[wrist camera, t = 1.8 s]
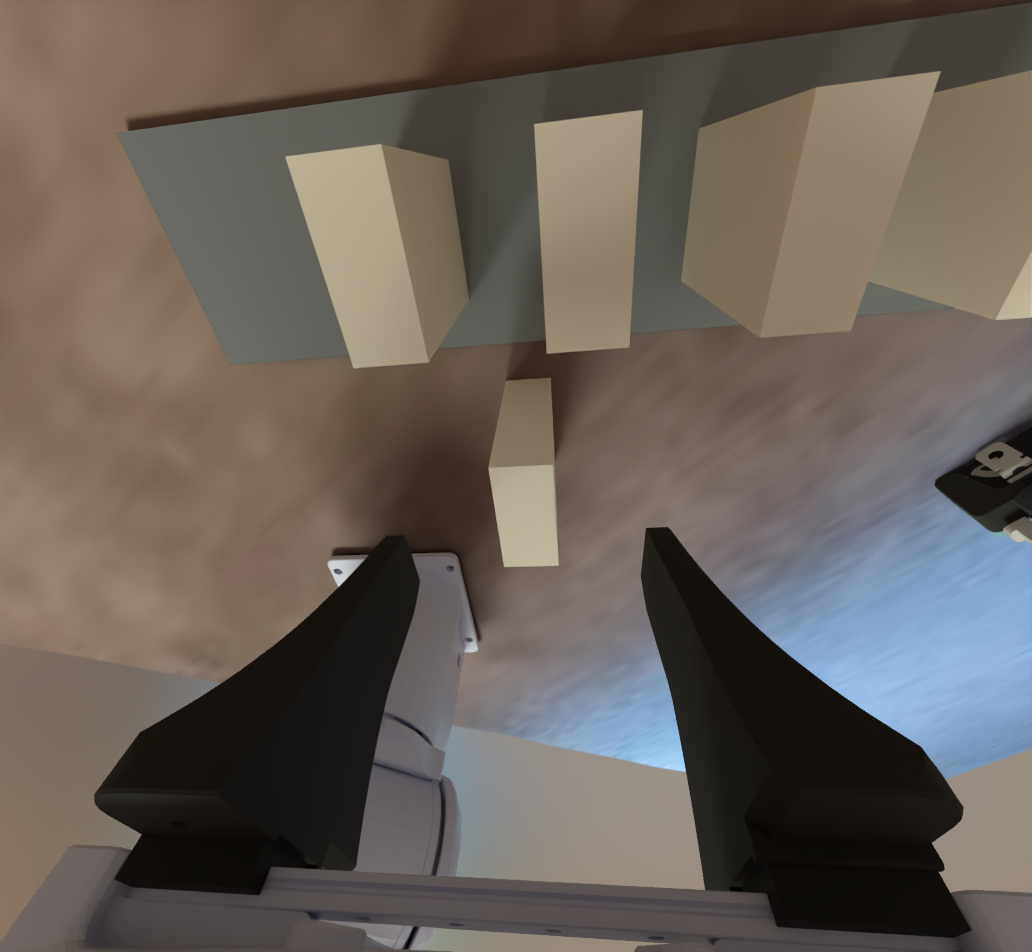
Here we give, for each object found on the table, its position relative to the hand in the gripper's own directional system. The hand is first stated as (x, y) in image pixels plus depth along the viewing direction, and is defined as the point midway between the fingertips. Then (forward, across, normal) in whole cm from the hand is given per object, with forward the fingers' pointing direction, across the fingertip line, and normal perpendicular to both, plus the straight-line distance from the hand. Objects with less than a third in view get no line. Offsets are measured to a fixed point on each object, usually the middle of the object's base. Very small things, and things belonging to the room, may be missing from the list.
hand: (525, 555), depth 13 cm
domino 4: (+8, -7, -8) cm, 13 cm away
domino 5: (+8, -12, -8) cm, 17 cm away
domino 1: (+8, +3, -8) cm, 12 cm away
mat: (+9, -2, -8) cm, 12 cm away
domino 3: (+8, -2, -8) cm, 12 cm away
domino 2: (+9, 0, 0) cm, 9 cm away
